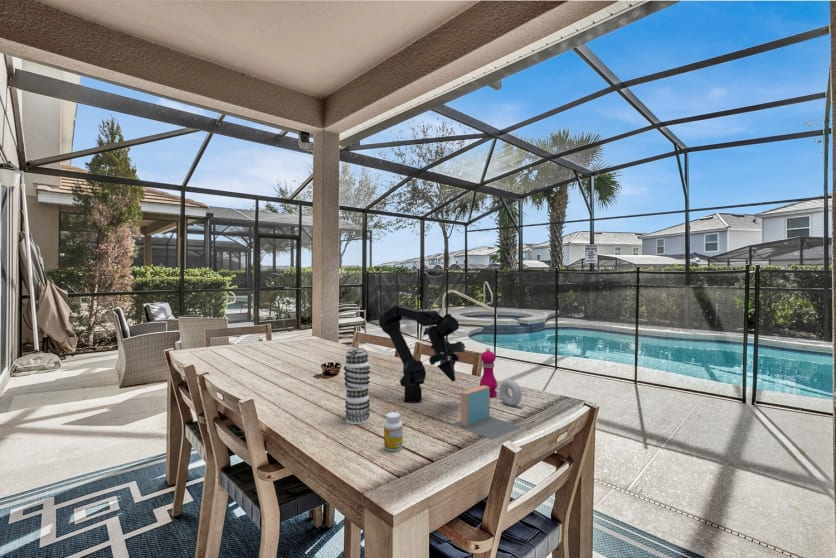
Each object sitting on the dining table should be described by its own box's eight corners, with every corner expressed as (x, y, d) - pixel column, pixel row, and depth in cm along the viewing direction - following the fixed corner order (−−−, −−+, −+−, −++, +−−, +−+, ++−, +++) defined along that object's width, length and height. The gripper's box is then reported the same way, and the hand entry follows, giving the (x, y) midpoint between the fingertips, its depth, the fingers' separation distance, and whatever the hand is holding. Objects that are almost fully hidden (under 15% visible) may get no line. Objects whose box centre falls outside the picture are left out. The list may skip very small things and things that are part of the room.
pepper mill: (497, 398, 155) (496, 349, 155) (479, 397, 157) (479, 349, 157) (497, 393, 162) (496, 346, 162) (480, 392, 164) (479, 345, 164)
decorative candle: (349, 427, 127) (348, 352, 127) (341, 418, 135) (340, 348, 135) (374, 421, 131) (373, 349, 131) (365, 413, 140) (364, 345, 140)
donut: (523, 408, 143) (523, 381, 143) (517, 410, 141) (517, 383, 141) (503, 401, 152) (503, 376, 152) (497, 402, 150) (497, 377, 150)
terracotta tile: (461, 425, 126) (460, 392, 126) (484, 416, 134) (483, 385, 134) (467, 427, 125) (466, 394, 124) (490, 418, 132) (489, 386, 132)
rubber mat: (451, 425, 128) (451, 423, 128) (480, 414, 138) (480, 413, 138) (492, 441, 115) (492, 439, 115) (520, 427, 125) (520, 426, 125)
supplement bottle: (384, 444, 114) (383, 411, 114) (402, 443, 114) (401, 411, 114) (384, 452, 109) (383, 418, 109) (403, 451, 109) (402, 417, 109)
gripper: (449, 330, 133) (466, 372, 127) (464, 334, 149) (480, 372, 144) (422, 343, 136) (437, 385, 130) (439, 346, 152) (454, 383, 147)
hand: (454, 381), depth 138 cm, fingers closed
